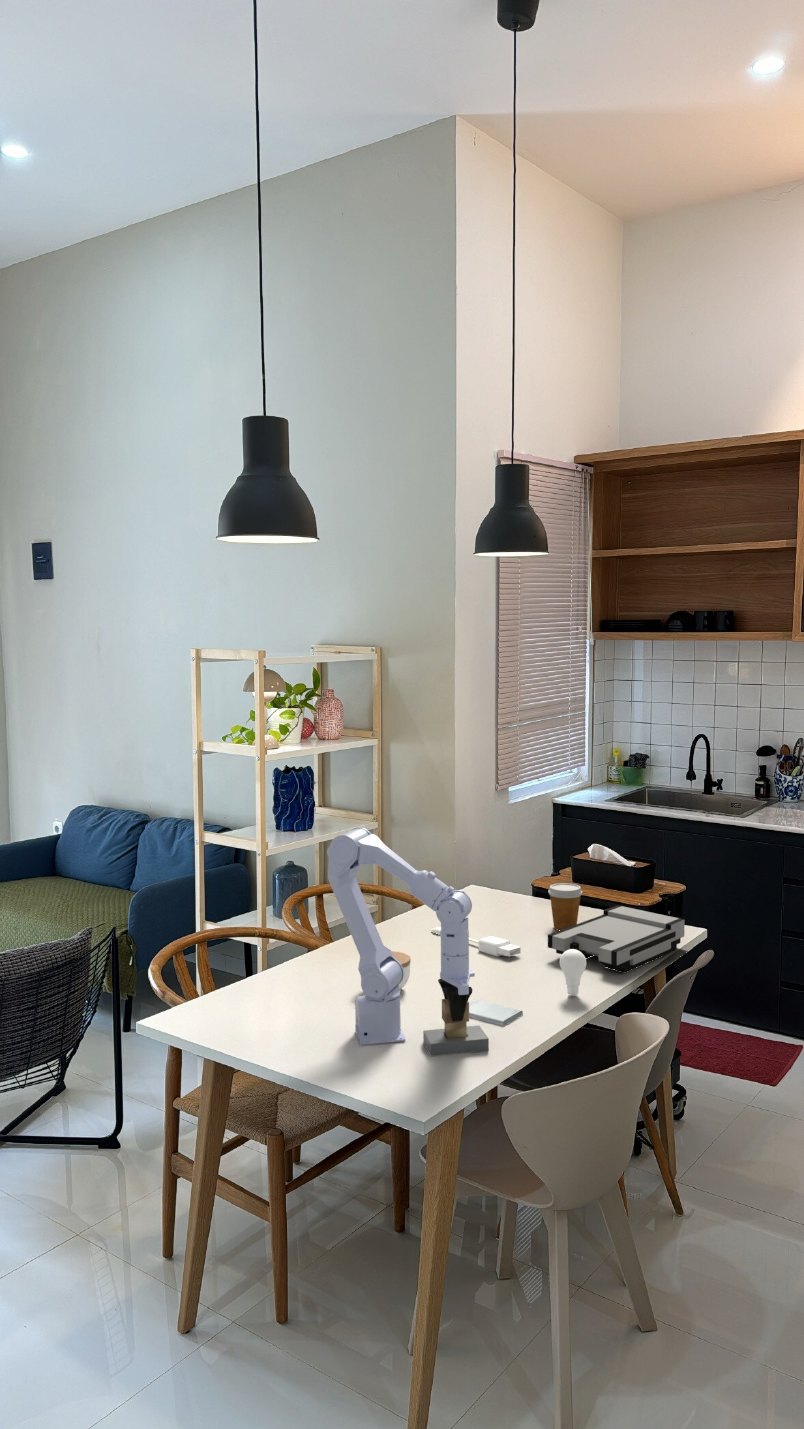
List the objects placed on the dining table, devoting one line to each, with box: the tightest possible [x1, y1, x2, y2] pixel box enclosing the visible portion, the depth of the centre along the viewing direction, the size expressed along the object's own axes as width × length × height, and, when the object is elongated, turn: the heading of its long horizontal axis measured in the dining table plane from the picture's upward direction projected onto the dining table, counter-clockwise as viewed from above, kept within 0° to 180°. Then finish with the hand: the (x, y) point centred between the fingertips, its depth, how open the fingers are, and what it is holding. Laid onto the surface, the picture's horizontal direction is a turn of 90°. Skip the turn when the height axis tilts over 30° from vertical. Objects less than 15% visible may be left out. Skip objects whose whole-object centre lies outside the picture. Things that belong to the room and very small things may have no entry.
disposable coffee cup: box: [548, 882, 583, 931], centre depth 287 cm, size 10×10×12 cm
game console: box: [547, 905, 686, 973], centre depth 264 cm, size 21×32×8 cm, turn 135°
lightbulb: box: [559, 949, 587, 997], centre depth 234 cm, size 6×6×11 cm
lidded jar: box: [391, 950, 411, 992], centre depth 240 cm, size 11×11×9 cm
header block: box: [422, 1025, 490, 1057], centre depth 207 cm, size 12×7×2 cm, turn 101°
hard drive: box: [468, 998, 524, 1027], centre depth 225 cm, size 2×8×12 cm
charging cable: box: [430, 926, 521, 957], centre depth 274 cm, size 5×32×3 cm, turn 39°
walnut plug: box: [441, 998, 470, 1038], centre depth 207 cm, size 5×3×7 cm, turn 101°
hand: (455, 1017), depth 207 cm, fingers closed on walnut plug, 3 cm apart
